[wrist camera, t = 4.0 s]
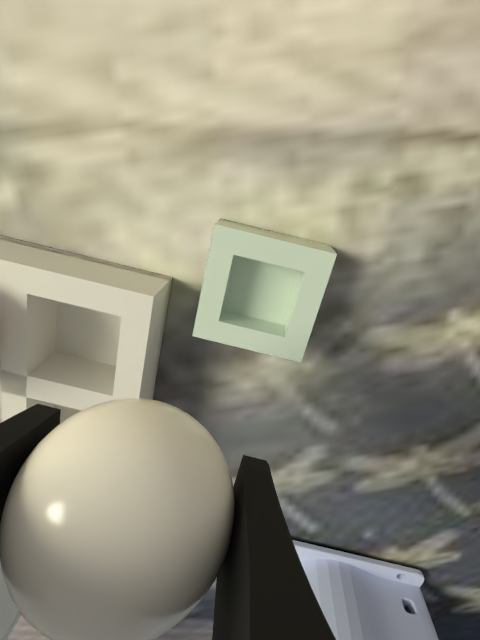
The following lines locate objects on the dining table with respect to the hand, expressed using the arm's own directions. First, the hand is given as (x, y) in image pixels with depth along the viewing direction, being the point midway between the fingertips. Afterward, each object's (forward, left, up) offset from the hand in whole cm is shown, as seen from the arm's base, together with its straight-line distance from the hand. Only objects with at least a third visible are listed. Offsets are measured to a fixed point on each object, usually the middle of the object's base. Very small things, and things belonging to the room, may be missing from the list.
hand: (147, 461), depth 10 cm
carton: (+8, +4, -9) cm, 13 cm away
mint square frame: (-2, -3, -9) cm, 10 cm away
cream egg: (0, 0, +2) cm, 2 cm away
